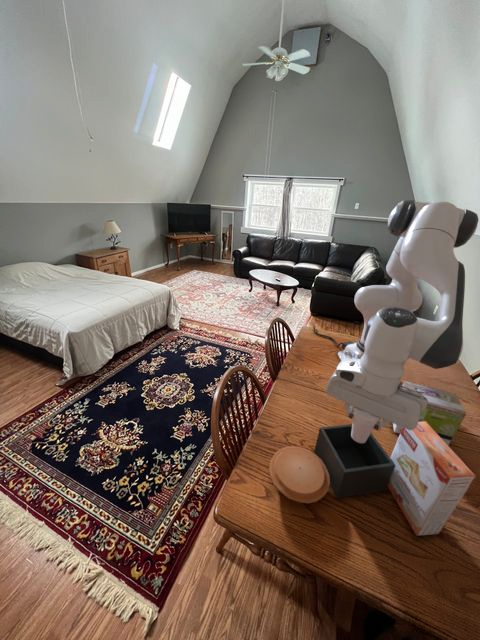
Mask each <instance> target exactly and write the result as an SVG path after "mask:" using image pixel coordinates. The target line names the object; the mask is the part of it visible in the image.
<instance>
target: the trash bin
mask: <svg viewBox="0 0 480 640" xmlns="http://www.w3.org/2000/svg"><path fill="white" fill-rule="evenodd" d="M351 431H352V423H350V424H339V425H332V426H331V425H330V426H321V427H319V430H318V434H317V438H316V443H315V446H314V451H313V453H314V454H316V455H317V456H318V457H319V458H320V459H321V460H322V461H323V463H324V465H325V466H326V468H327V470H328V473H329V475H330V486H329V487H331V490H332V492H333V494H334V497H335V498H336V499H339V498H340V499H342V498H345V497H353V496H359V495H366V494H372V493H378V492H384V491H386V488H387V487H388V486H387V484H388V482H389V479H390V477H391V475H392V472H393V470H394V468H395V464H394V463H393V461H392V460H391V459H390V457H391V456H389V455H388V453H387V452H386V450H385V449H384V448H383V447H382V445H381V444H380V442H379V441H378V440H377V438H376V437H375V435H374V434H373V433H372V432H371V433H370V435H369V437H368V439H367V440H366V442H365V443H358V442H356V441H355V440H353V438H352V437H351Z"/></svg>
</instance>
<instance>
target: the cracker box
mask: <svg viewBox="0 0 480 640" xmlns="http://www.w3.org/2000/svg"><path fill="white" fill-rule="evenodd" d="M389 457H390V459H391V460H392V461H393V463H394V464H395V468H394V470H393V472H392V475H391V477H390V479H389V482H388V484H387V486H386V487H387V488H388V490H389V491H390V493H391V495H392V497H393V499H394V500H395V502H396V504H397V506H398V507H399V509H400V510H401V512H402V514H403V516H404V517H405V519H406V521H407V523H408V524H409V526H410V528H411V529H412V531H413V533H414V535H415V536H416V537H419V536H430V535H431V536H432V535H440V533H441V532H442V530H443V528H444V527H445V525H446V524H447V523H448V520H449V519H450V518H451V516H452V514H453V513H454V511H455V510H456V509H457V506H458V505H459V504H460V502H461V500H462V498H463V497H464V496H465V494H466V493H467V491H468V490H469V488H470V486H471V485H472V483H473V482H474V480H475V478H476V475H475V473H474V472H472V470H471V469H470V468H469V467H468V466H467V465H466V463H464V461H463V460H462V459H461V458H460V457H459V456H458V454H456V453H455V451H453V450H452V448H451V447H450V446H449V445H447V444H446V443H445V442H444V441H443V440H442V439H441V438H440V437H439V435H438V434H437V433H436V432H435V431H434V430H433V429H432V428H431V427H430V426H429V424H428V423H427V422H418V424H417V427H416V429H413V430H408V429H406V428H402V430H401V433H399V436H398V438H397V440H396V443H395V445H394V448H393V450H392V452H391V455H390V456H389Z"/></svg>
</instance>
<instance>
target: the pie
mask: <svg viewBox="0 0 480 640" xmlns="http://www.w3.org/2000/svg"><path fill="white" fill-rule="evenodd" d="M268 472H269V477H270V479H271V482H272V485H273V486H274V487H275V488H276V489H277V491H278V492H279V493H280V494H282V495H283V496H284V497H286V498H287V499H289V500H292V501H293V502H297V503H300V504H301V503H302V504H307V505H308V504H312V503H317V502H318V501H320V500H321V499H323V498H324V497H325V496H326V494H327V493H328V492H329V489H330V487H331V486H330V475H329V473H328V470H327V468H326V466H325V465H324V463H323V461H322V460H321V459H320V458H319V457H318V456H317V455H316V454H315V452H313V451H311V450H310V449H308V448H307V449H306V448H304V447H301V446H296V445H295V446H294V445H291V446H284V447H281V448H279V449H278V450H277V451H276V452H275V453H274V455H273V456H272V457H271V459H270V461H269V466H268Z"/></svg>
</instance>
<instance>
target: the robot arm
mask: <svg viewBox="0 0 480 640" xmlns="http://www.w3.org/2000/svg"><path fill="white" fill-rule="evenodd" d="M479 220H480V219H479V215H478V214H477V212H474V211H473V210H470V209H467V208H464V209H463V208H459V207H457V206H456V205H455V204H453V203H452V202H448V201H443V200H441V201H434V202H429V201H415V200H414V199H405V200H401V201H399V202H398V203H397V205H396V206H395V207H394V208H393V209H392V210H391V212H390V214H389V216H388V219H387V230H388V233H390V234H391V235H392V236H394V237H397V238H398V237H399V239H398V240H397V243H396V244H395V246H394V248H393V250H392V253H391V255H390V257H389V259H388V261H387V264H386V266H385V271H386V274H387V275H388V276H389V277H390V278H391V279H392V280H391V282H390V283H389V284H385V285H384V284H372V285H366V286H363V287H359V288H358V290H357V291H356V292H355V294H354V299H353V302H354V305H355V308H356V309H357V311H359V312H360V313H361V314H362V316H363V323H364V324H363V329H362V333H361V336H357V338H356V340H357V342H353V341H352V340H351V341H343V342H339V343H338V344H337V342H336V339H334V338H333V337H332V336H329V335H326V334H323V333H322V334H321V333H318V332H317V331H316V326H315V325H313V326H312V328H313V333H315V334H316V335H318V336H320V337H325V338H328V339H331V340H332V341H333V343H334V344H335V347H337V348H339V347H341V349H342V350H340V351H338V353H337V356H338V358H339V360H340V362H339V363H338V365H337V366H336V368H335V371H333V373H332V375H331V377H330V378H329V380H328V382H327V385H326V389H325V392H326V394H327V396H328V397H331V398H333V399H336V400H338V401H340V402H342V403H344V408H345V410H346V417H347V418H349V419H351V420H353V415H354V409H353V406H354V407H357V408H359V409H361V410H364V411H366V412H368V413H371V414H373V415H375V416H378V417H380V418H381V419H380V420H379V421H377V423H376V424H375V426H374V428H373V430H375V431H377V432H381V430H382V428H384V427H386V426H387V425H389V424H390V423H392V424H393V423H394V424H396V425H399V426H401V427H403V428H406V429H408V430H413V429H416V427H417V424H418V421H419V416H420V412H421V411H424V410H425V409H426V407H427V405H428V400H427V398H426V397H425V396H423V395H422V393H420V392H418V391H414V390H411V389H409V388H407V387H404V386H402V384H400V383H401V381H402V378H403V376H404V371H405V367H404V366H405V364H406V362H408V360H409V359H410V360H413V361H416V362H419V364H422V365H424V366H427V367H429V368H432V369H434V370H438V369H444V368H448V367H452V366H453V365H455V364H456V363H458V361H459V360H460V358H461V356H462V353H463V350H464V333H463V332H464V331H463V321H464V319H463V318H464V307H465V306H464V305H465V294H466V293H465V292H466V291H465V290H466V270H465V265H464V264H463V263H462V262H461V261H460V260H458V258H457V257H456V255H455V251H454V249H457V248H461V247H462V246H464V245H466V244H467V243H468V242H469V241H470V239H472V238H473V236H474V235H475V233H476V231H477V229H478V223H479ZM419 279H420V280H422V281H424V282H425V283H427V284H428V285H430V286H432V287H433V288H435V289H436V290H437V292H438V293H439V295H440V304H439V314H438V320H437V321H435V320H429V319H425V318H422V317H418V316H417V315H415V313H413V312H416V311H417V310H419V309H420V307H421V306H422V304H423V300H424V299H423V294H422V291H421V289H419V286H418V284H419ZM422 397H423V398H422Z"/></svg>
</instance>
